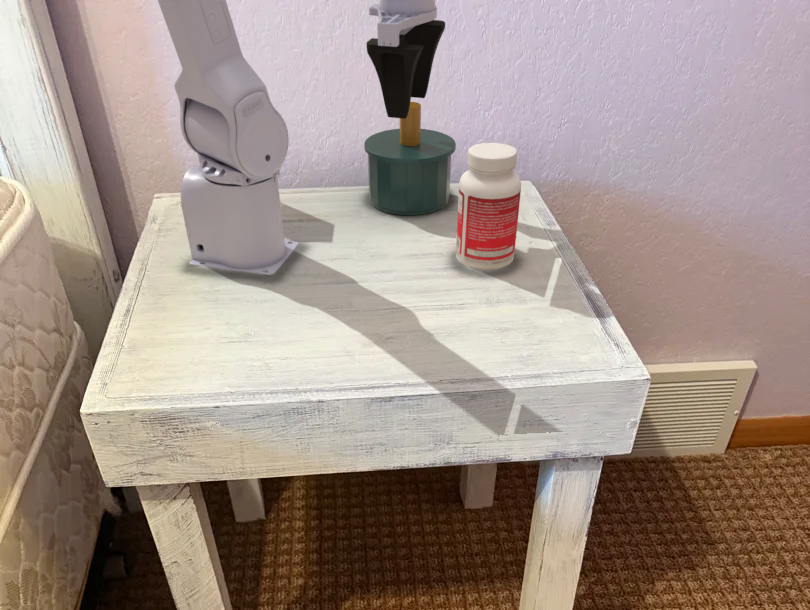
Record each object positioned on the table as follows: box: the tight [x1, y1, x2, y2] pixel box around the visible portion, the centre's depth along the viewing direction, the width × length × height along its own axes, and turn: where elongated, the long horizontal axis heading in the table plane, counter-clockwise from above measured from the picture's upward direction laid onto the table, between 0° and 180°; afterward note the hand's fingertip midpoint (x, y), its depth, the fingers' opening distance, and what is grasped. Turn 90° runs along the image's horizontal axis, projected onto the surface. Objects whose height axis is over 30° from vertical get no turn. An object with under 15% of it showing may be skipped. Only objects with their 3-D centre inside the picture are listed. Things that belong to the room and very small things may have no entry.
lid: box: [363, 101, 457, 164], centre depth 87 cm, size 11×11×5 cm
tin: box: [367, 154, 452, 216], centre depth 91 cm, size 10×10×6 cm
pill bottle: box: [455, 142, 522, 270], centre depth 77 cm, size 6×6×11 cm
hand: (407, 106), depth 85 cm, fingers open, 7 cm apart
